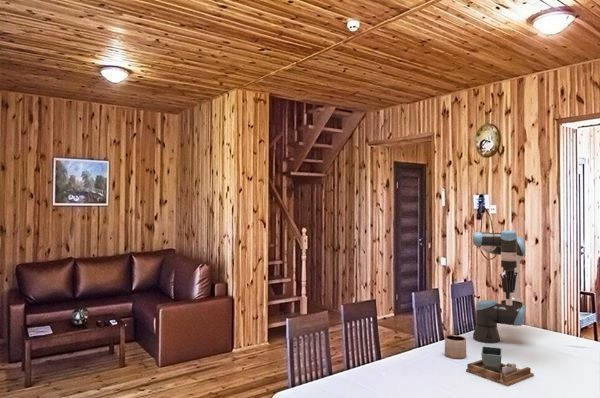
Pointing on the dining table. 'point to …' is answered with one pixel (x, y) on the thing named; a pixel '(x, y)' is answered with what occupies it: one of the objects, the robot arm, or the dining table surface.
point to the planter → (455, 346)
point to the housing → (499, 373)
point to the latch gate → (508, 369)
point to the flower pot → (491, 358)
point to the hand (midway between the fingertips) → (509, 304)
